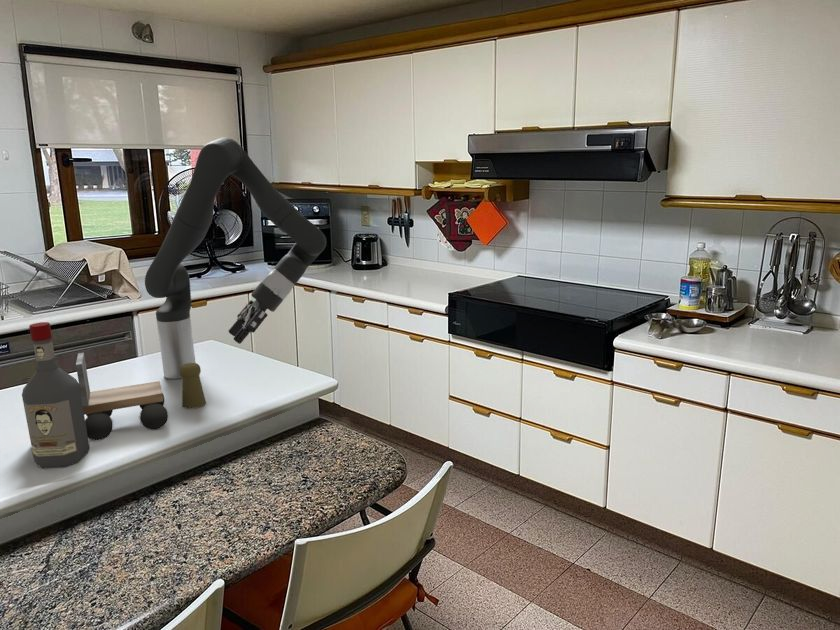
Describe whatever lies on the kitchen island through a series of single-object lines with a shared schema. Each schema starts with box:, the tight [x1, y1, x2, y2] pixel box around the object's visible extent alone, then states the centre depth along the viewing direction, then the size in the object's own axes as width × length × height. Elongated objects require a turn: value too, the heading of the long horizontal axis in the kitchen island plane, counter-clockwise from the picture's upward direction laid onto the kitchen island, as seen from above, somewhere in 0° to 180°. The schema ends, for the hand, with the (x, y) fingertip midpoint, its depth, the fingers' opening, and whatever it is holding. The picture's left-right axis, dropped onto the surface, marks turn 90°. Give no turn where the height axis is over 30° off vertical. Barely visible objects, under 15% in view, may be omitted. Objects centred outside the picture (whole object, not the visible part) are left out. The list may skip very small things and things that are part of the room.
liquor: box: [21, 321, 91, 469], centre depth 135 cm, size 9×9×30 cm
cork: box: [179, 363, 207, 409], centre depth 166 cm, size 6×6×11 cm
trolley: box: [75, 352, 169, 441], centre depth 154 cm, size 14×18×18 cm
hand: (233, 337), depth 168 cm, fingers open, 8 cm apart
